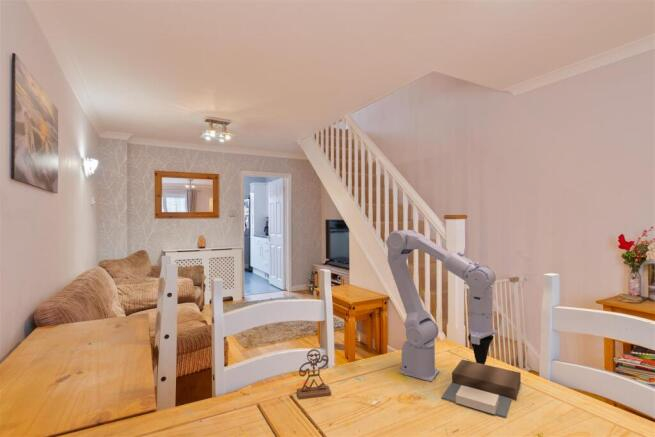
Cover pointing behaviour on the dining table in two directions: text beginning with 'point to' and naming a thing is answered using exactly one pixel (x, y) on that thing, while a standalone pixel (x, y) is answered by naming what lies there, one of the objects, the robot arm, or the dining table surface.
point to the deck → (487, 378)
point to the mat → (451, 396)
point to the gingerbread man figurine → (313, 391)
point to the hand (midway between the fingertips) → (480, 362)
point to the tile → (477, 399)
